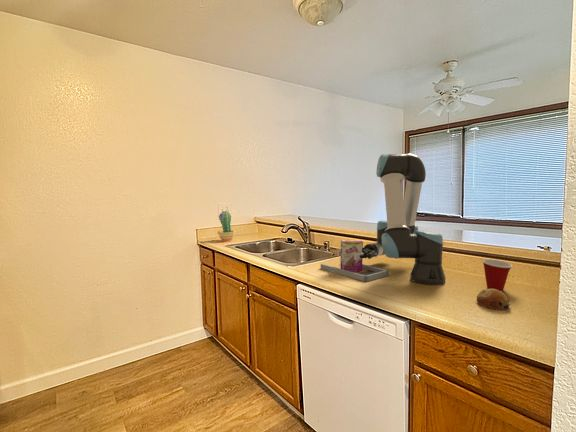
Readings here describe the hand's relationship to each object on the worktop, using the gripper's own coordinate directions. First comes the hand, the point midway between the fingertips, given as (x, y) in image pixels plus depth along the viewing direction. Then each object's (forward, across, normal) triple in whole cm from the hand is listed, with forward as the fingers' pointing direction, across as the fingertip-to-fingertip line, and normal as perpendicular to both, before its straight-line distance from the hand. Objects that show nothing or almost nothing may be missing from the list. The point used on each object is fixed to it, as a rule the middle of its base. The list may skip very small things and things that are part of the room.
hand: (346, 255), depth 160 cm
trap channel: (-4, -1, -9) cm, 10 cm away
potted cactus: (+4, +128, -9) cm, 128 cm away
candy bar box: (-4, 0, -9) cm, 10 cm away
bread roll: (-9, -64, -9) cm, 66 cm away
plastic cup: (-30, -58, -9) cm, 66 cm away
